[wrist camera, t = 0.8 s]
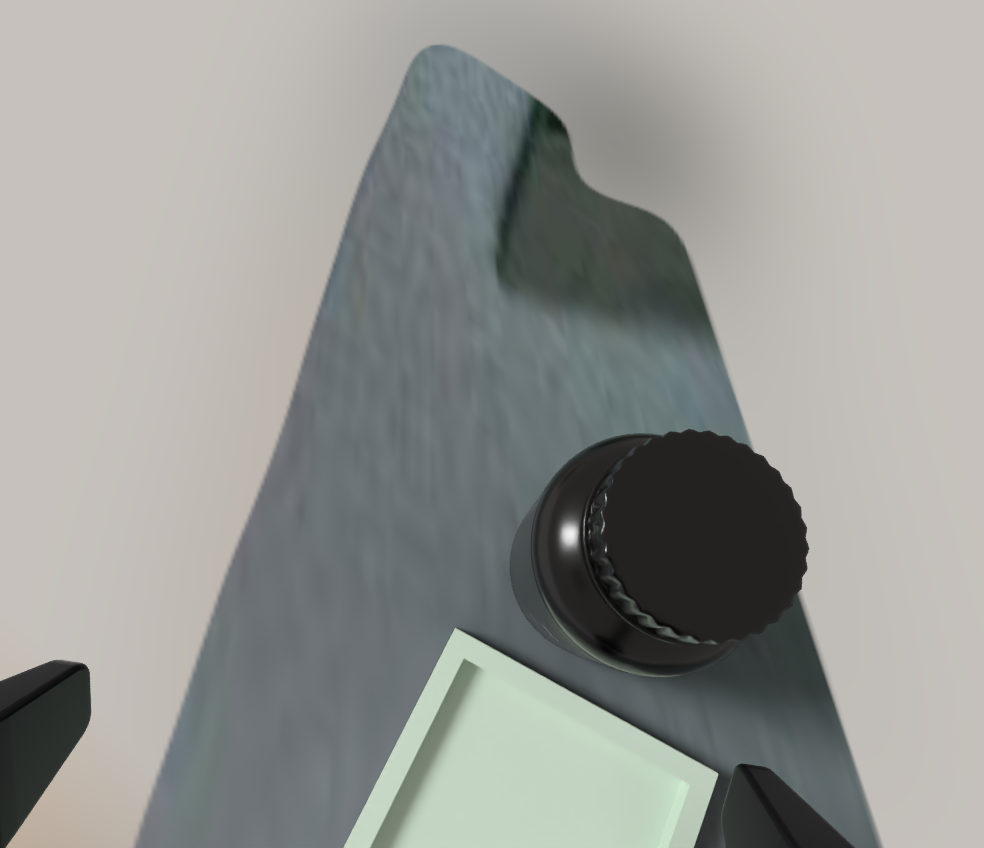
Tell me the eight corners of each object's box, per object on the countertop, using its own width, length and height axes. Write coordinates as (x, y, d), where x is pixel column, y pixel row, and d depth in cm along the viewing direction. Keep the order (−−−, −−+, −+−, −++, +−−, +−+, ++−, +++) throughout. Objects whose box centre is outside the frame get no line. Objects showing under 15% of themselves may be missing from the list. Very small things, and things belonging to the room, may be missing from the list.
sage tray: (589, 1102, 19) (597, 1133, 18) (306, 921, 20) (296, 939, 19) (705, 765, 22) (718, 773, 21) (455, 627, 23) (455, 628, 22)
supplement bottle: (526, 672, 23) (585, 730, 11) (495, 503, 25) (518, 408, 13) (691, 638, 23) (904, 661, 12) (647, 476, 25) (793, 364, 14)
